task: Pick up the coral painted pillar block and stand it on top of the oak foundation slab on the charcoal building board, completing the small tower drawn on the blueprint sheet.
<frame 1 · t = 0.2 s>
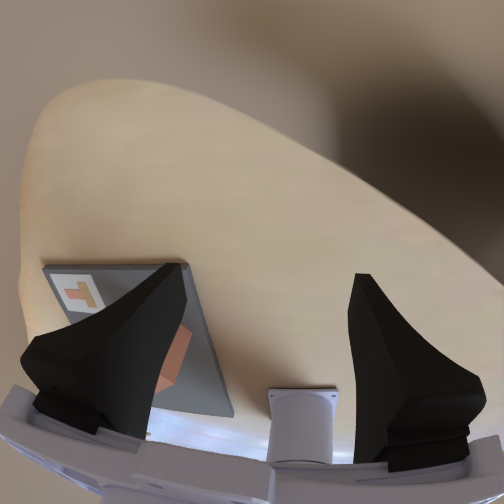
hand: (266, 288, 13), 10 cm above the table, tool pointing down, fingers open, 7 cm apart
pillar: (165, 329, 29), point 1 cm above the table, touching building board
building board: (145, 351, 33), on the table
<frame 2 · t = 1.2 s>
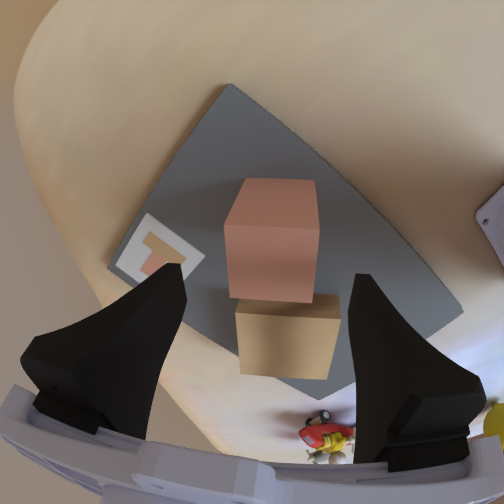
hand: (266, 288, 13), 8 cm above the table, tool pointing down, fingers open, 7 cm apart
pillar: (279, 209, 19), point 1 cm above the table, touching building board
slab: (287, 326, 24), point 1 cm above the table, touching building board
building board: (291, 288, 23), on the table
lemon: (494, 402, 30), on the table
toy airplane: (340, 420, 34), on the table
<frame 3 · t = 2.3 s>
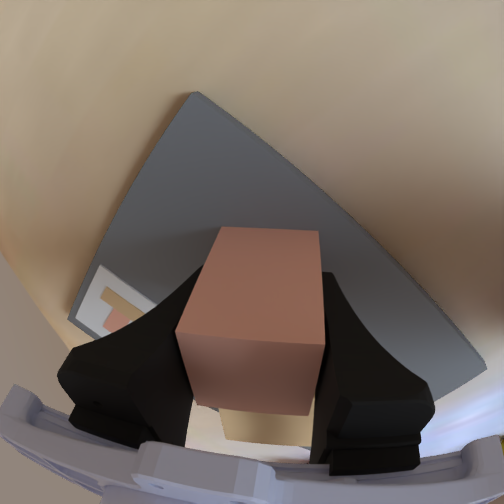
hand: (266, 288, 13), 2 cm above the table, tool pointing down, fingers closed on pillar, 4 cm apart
pillar: (269, 268, 14), point 1 cm above the table, touching building board, gripper
slab: (280, 391, 19), point 1 cm above the table, touching building board
building board: (285, 352, 18), on the table
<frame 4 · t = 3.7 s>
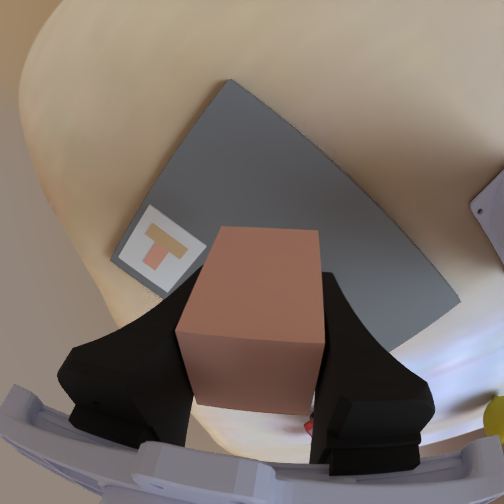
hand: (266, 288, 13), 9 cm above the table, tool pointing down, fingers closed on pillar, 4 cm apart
pillar: (269, 268, 14), point 8 cm above the table, touching gripper
building board: (290, 278, 24), on the table
lemon: (494, 395, 31), on the table
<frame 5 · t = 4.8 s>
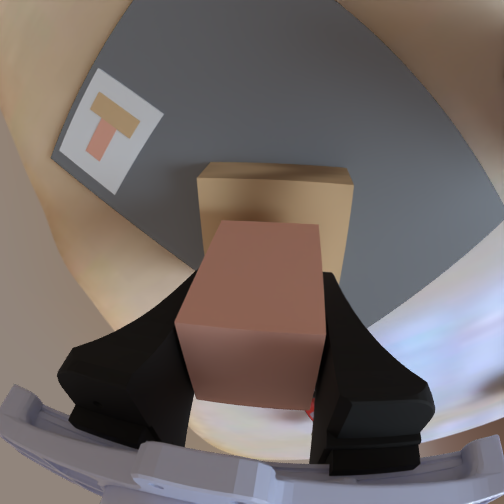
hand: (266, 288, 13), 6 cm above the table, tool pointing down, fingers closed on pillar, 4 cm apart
pillar: (269, 262, 14), point 5 cm above the table, touching gripper
slab: (276, 224, 18), point 1 cm above the table, touching building board
building board: (280, 164, 17), on the table
when the fingers open (6 cm above the table, at t = 5.3 s): pillar drops 1 cm, resting on slab.
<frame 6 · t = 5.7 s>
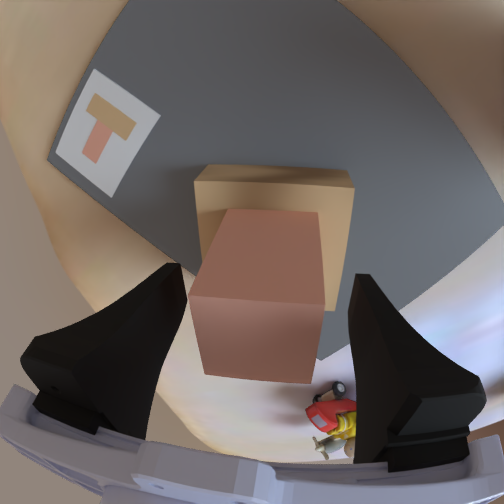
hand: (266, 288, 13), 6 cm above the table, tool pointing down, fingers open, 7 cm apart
pillar: (272, 248, 15), point 3 cm above the table, touching slab
slab: (275, 227, 17), point 1 cm above the table, touching building board, pillar
building board: (279, 166, 16), on the table
toy airplane: (356, 398, 27), on the table
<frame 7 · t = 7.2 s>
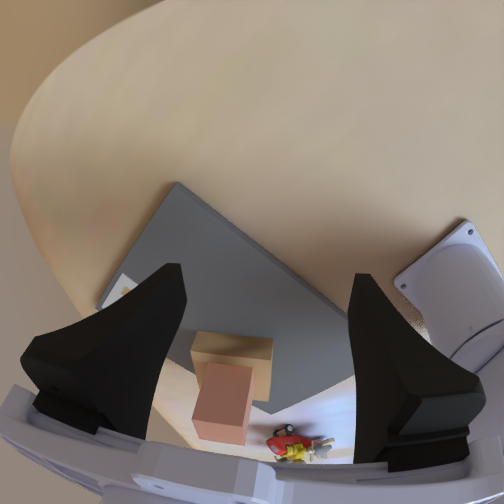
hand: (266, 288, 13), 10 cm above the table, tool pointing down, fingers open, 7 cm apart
pillar: (231, 377, 28), point 3 cm above the table, touching slab
slab: (236, 358, 30), point 1 cm above the table, touching building board, pillar
building board: (237, 331, 29), on the table
toy airplane: (304, 432, 40), on the table
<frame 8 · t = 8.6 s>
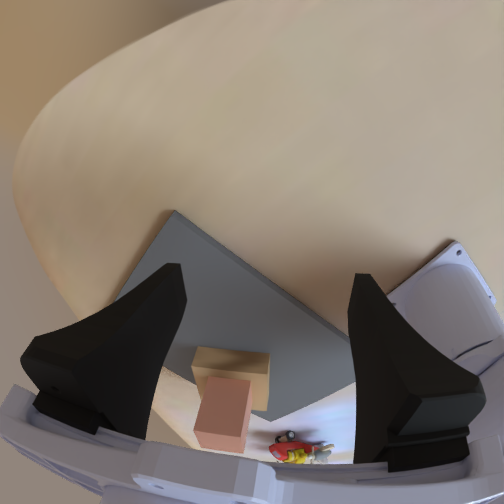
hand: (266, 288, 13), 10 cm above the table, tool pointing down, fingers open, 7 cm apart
pillar: (231, 389, 29), point 3 cm above the table, touching slab
slab: (235, 371, 31), point 1 cm above the table, touching building board, pillar
building board: (235, 346, 30), on the table
toy airplane: (305, 438, 41), on the table
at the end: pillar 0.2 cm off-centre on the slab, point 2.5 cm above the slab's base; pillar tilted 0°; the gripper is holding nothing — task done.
